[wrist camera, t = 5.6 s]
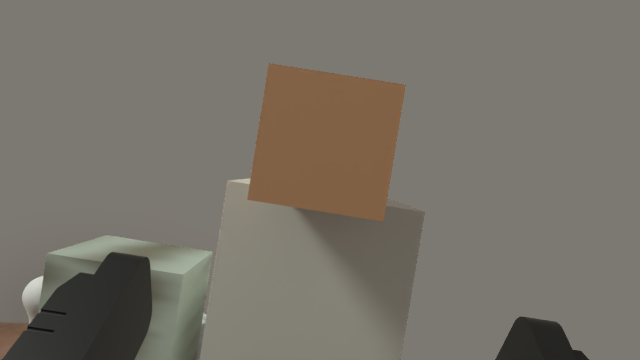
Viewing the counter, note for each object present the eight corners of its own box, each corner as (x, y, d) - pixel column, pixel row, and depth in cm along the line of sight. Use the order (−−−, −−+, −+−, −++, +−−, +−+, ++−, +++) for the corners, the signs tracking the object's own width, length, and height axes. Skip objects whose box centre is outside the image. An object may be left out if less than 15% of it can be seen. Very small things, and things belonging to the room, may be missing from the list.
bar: (383, 221, 14) (405, 84, 14) (247, 199, 14) (268, 63, 14) (346, 190, 40) (354, 143, 40) (298, 183, 40) (306, 135, 40)
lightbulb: (30, 358, 69) (42, 283, 69) (5, 346, 72) (16, 273, 72) (69, 347, 75) (79, 278, 75) (43, 336, 77) (54, 269, 77)
